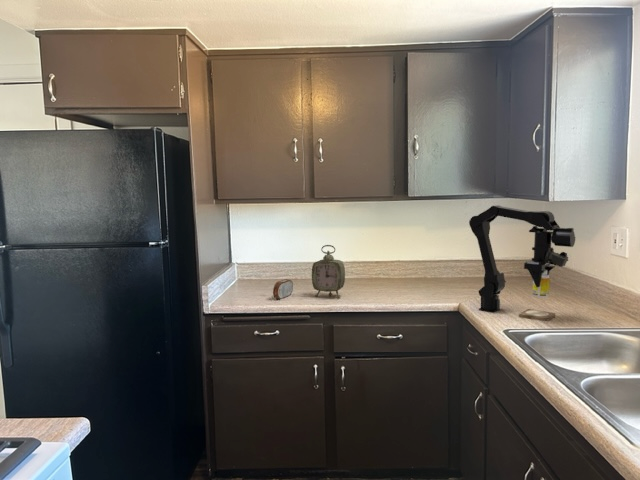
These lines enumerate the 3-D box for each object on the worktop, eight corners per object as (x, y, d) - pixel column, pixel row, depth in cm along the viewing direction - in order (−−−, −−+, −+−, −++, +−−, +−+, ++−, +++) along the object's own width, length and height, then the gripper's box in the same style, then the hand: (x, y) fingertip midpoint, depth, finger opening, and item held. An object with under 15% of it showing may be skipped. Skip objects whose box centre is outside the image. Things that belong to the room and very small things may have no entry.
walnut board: (518, 316, 175) (518, 313, 175) (528, 311, 182) (528, 308, 182) (546, 321, 168) (546, 318, 168) (555, 316, 175) (555, 312, 175)
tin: (288, 294, 224) (288, 277, 224) (294, 294, 223) (293, 277, 222) (272, 300, 211) (272, 282, 210) (278, 301, 210) (277, 283, 209)
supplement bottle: (550, 296, 171) (552, 269, 170) (545, 298, 167) (547, 271, 166) (535, 293, 175) (536, 267, 174) (530, 296, 171) (531, 269, 170)
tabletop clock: (312, 298, 214) (310, 245, 212) (318, 294, 223) (316, 243, 221) (341, 299, 210) (340, 246, 208) (346, 295, 219) (345, 244, 216)
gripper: (557, 249, 157) (554, 293, 159) (574, 244, 170) (572, 285, 172) (524, 246, 165) (522, 288, 166) (543, 242, 178) (541, 281, 179)
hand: (540, 285), depth 171 cm, fingers closed on supplement bottle, 6 cm apart
